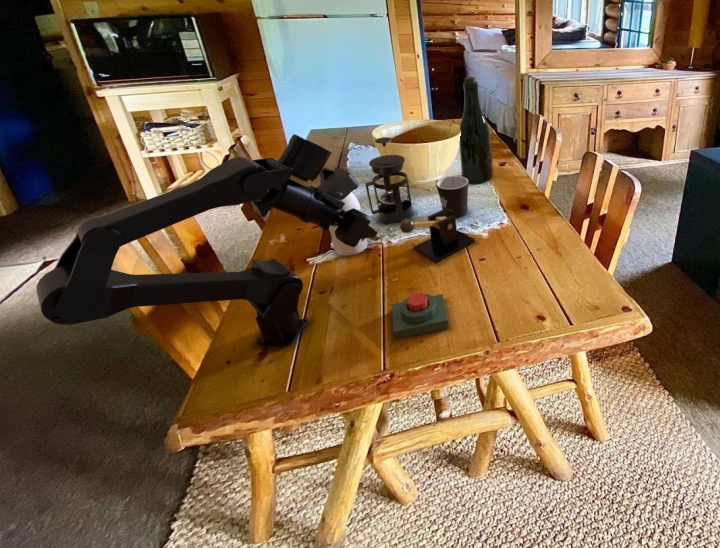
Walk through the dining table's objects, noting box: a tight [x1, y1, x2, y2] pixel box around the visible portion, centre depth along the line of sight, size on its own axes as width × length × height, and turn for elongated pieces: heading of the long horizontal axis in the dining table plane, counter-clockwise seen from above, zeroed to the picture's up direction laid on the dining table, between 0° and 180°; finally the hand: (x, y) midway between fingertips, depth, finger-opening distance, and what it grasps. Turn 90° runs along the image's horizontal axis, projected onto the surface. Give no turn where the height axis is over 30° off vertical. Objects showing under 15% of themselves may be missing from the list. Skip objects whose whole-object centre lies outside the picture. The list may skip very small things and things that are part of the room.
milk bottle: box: [328, 191, 369, 256], centre depth 105 cm, size 8×8×20 cm
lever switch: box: [413, 209, 476, 264], centre depth 108 cm, size 12×9×9 cm
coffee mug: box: [435, 175, 469, 220], centre depth 123 cm, size 12×9×10 cm
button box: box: [391, 293, 450, 340], centre depth 85 cm, size 10×8×4 cm
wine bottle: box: [458, 76, 494, 184], centre depth 139 cm, size 10×10×33 cm
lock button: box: [407, 292, 428, 312], centre depth 84 cm, size 4×4×2 cm
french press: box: [365, 136, 415, 226], centre depth 118 cm, size 12×9×23 cm
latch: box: [399, 216, 447, 234], centre depth 102 cm, size 13×3×3 cm, turn 140°
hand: (367, 229), depth 91 cm, fingers open, 6 cm apart
